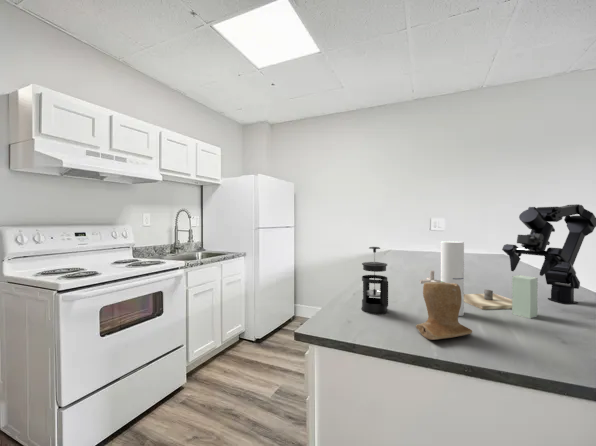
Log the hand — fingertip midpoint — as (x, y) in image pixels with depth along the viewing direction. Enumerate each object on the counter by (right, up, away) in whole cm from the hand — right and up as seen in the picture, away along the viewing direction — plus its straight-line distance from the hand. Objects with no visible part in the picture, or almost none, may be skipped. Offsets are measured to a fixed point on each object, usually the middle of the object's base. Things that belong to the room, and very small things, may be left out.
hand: (525, 273), depth 103 cm
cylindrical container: (-29, -14, -3) cm, 32 cm away
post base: (-8, -13, +9) cm, 18 cm away
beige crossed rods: (-23, -13, +23) cm, 35 cm away
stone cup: (-42, -14, -22) cm, 49 cm away
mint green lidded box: (-5, -13, -6) cm, 16 cm away
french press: (-55, -14, -1) cm, 57 cm away
